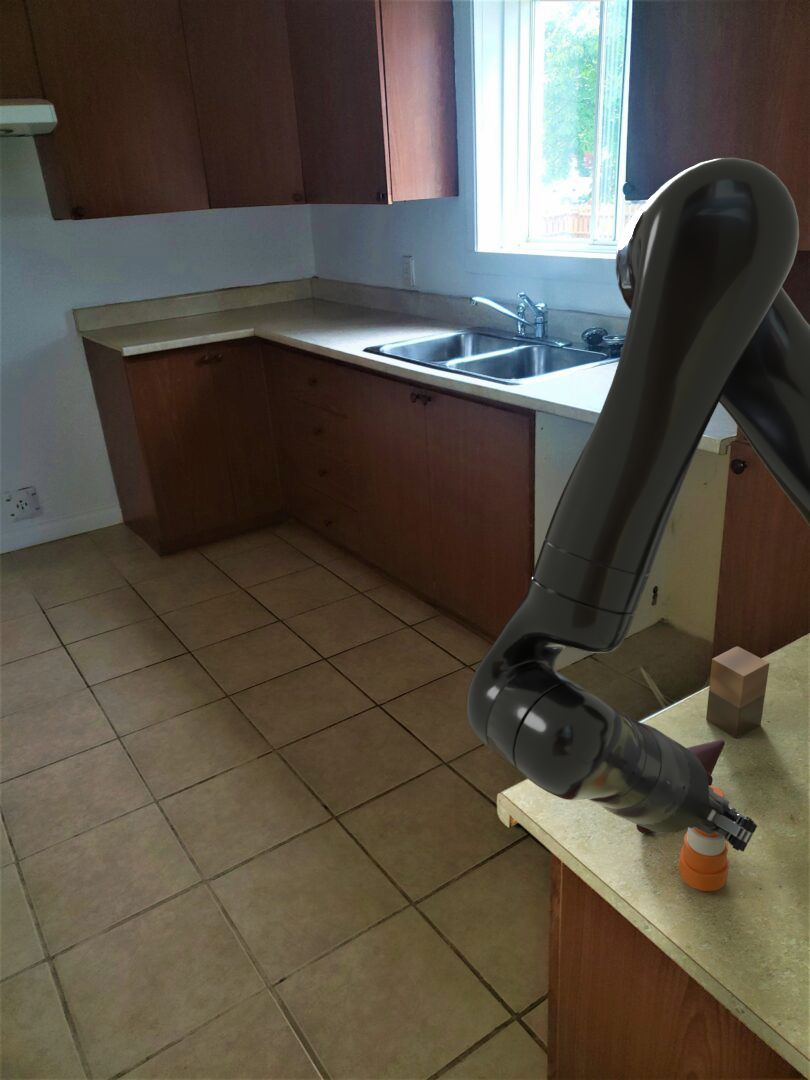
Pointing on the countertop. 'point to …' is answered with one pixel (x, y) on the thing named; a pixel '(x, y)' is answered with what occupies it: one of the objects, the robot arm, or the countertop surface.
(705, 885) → the cone
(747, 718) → the block bottom
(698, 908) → the countertop surface
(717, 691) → the block top
